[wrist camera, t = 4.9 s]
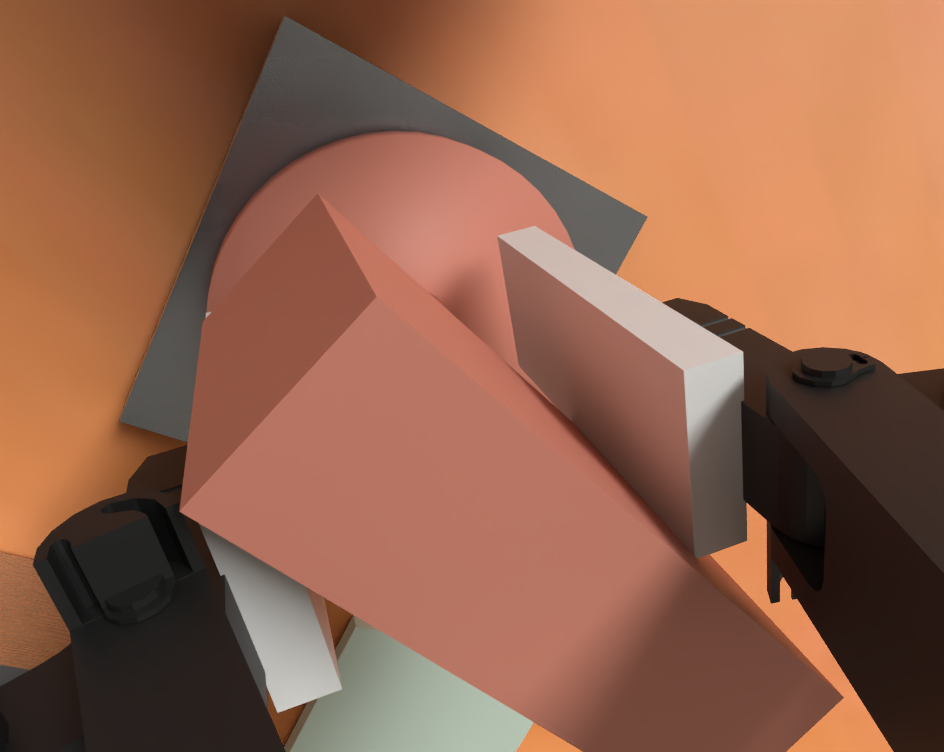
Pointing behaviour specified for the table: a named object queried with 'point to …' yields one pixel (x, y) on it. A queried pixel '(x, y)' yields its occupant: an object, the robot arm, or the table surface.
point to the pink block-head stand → (458, 463)
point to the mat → (401, 705)
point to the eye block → (26, 619)
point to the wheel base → (302, 130)
